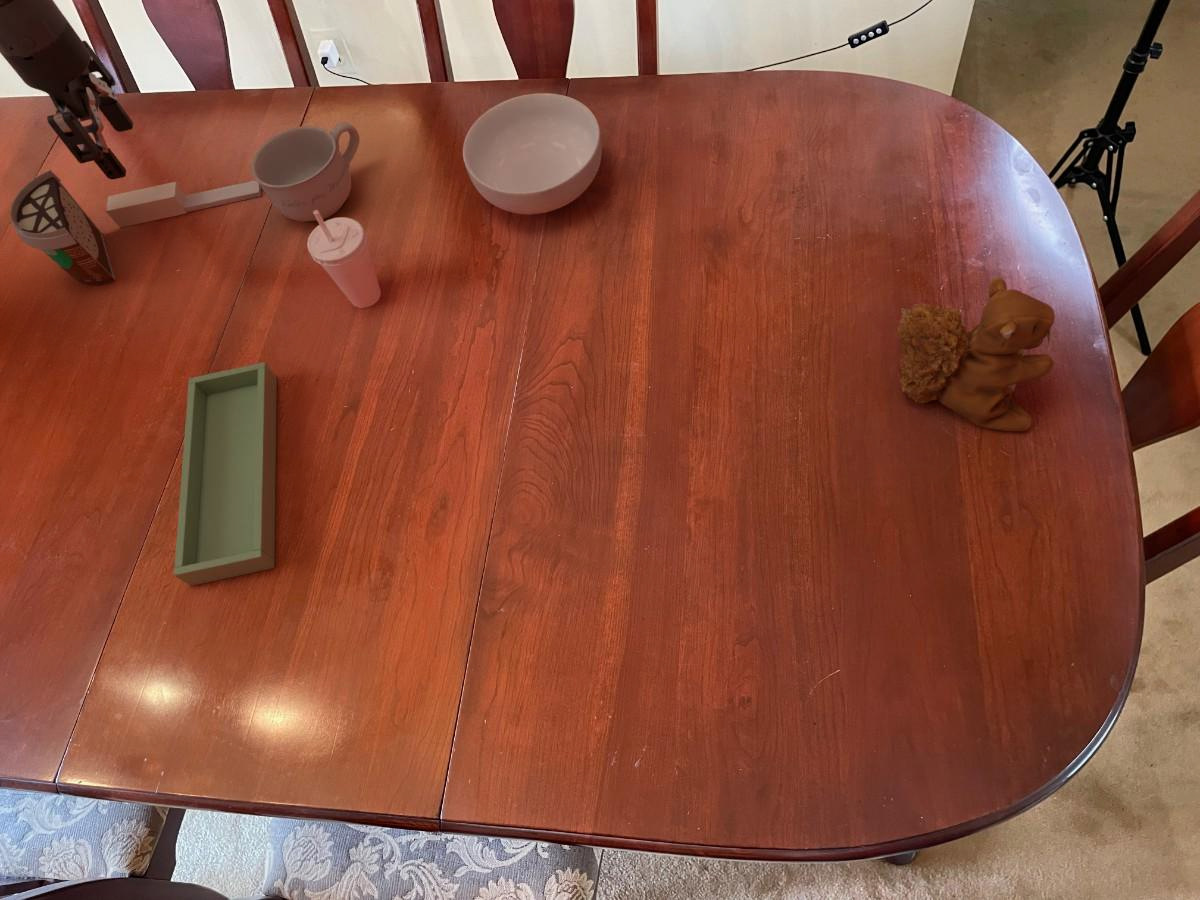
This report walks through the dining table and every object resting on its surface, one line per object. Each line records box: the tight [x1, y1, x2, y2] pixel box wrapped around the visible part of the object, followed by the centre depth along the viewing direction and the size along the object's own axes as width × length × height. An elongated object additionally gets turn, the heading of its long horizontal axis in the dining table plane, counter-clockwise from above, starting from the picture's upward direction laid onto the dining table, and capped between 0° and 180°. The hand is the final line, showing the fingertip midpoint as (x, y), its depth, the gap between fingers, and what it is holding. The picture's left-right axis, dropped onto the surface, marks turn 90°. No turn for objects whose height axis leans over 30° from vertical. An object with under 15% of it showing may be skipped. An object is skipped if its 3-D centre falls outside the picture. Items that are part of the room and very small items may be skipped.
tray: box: [173, 361, 278, 587], centre depth 89 cm, size 24×9×3 cm, turn 10°
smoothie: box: [306, 210, 382, 309], centre depth 94 cm, size 6×6×14 cm
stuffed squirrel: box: [896, 277, 1056, 433], centre depth 80 cm, size 10×14×13 cm
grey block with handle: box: [105, 179, 263, 229], centre depth 110 cm, size 19×3×3 cm, turn 101°
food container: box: [9, 169, 116, 286], centre depth 104 cm, size 12×6×10 cm, turn 27°
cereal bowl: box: [462, 92, 603, 215], centre depth 103 cm, size 17×17×7 cm
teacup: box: [250, 121, 360, 222], centre depth 106 cm, size 14×11×8 cm
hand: (122, 152), depth 103 cm, fingers open, 8 cm apart
